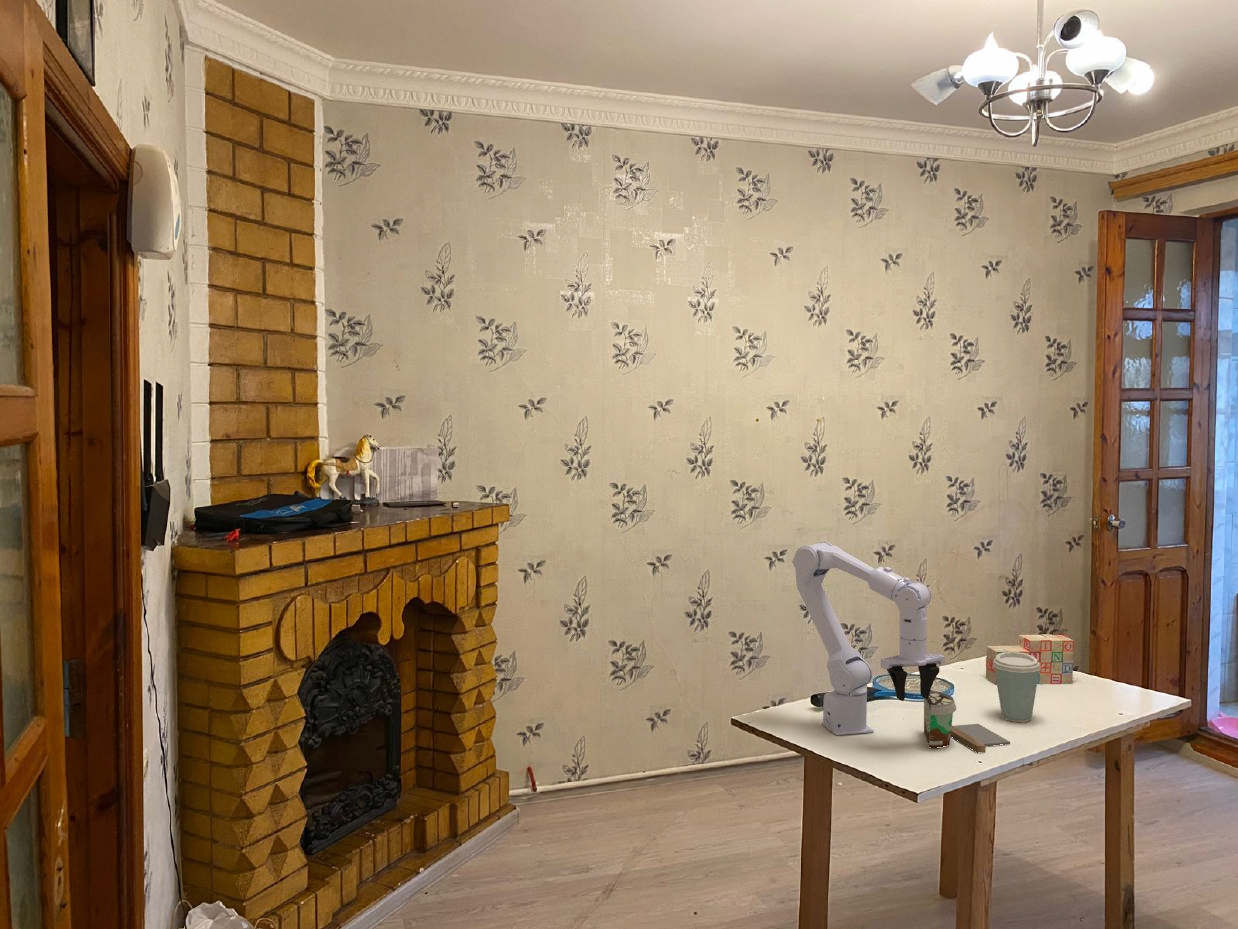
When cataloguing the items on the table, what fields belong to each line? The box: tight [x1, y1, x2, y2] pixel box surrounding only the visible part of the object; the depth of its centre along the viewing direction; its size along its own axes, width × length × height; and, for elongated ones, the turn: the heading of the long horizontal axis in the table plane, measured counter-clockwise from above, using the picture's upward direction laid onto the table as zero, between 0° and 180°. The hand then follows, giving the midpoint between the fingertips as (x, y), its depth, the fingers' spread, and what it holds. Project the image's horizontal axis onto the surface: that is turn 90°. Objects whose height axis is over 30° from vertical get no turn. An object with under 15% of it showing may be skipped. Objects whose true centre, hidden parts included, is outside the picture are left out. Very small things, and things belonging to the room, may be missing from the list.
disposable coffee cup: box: [993, 652, 1041, 723], centre depth 219 cm, size 11×11×15 cm
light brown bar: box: [951, 725, 987, 754], centre depth 206 cm, size 2×16×2 cm, turn 12°
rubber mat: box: [952, 723, 1011, 747], centre depth 208 cm, size 8×12×1 cm, turn 12°
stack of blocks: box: [985, 633, 1075, 686], centre depth 249 cm, size 21×6×12 cm, turn 92°
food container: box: [923, 689, 957, 749], centre depth 204 cm, size 12×6×10 cm, turn 168°
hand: (912, 698), depth 202 cm, fingers open, 5 cm apart
